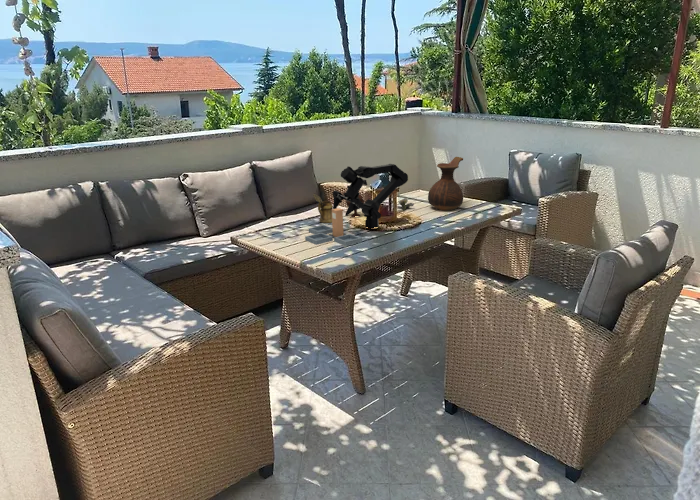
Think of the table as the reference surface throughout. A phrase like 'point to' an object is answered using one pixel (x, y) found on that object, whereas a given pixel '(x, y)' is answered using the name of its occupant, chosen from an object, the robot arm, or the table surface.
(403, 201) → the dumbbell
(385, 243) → the table surface
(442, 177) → the jug
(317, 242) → the tray
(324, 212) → the wooden mug
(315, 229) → the empty tray
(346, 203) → the ice cream bowl
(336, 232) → the orange block
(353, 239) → the empty tray
